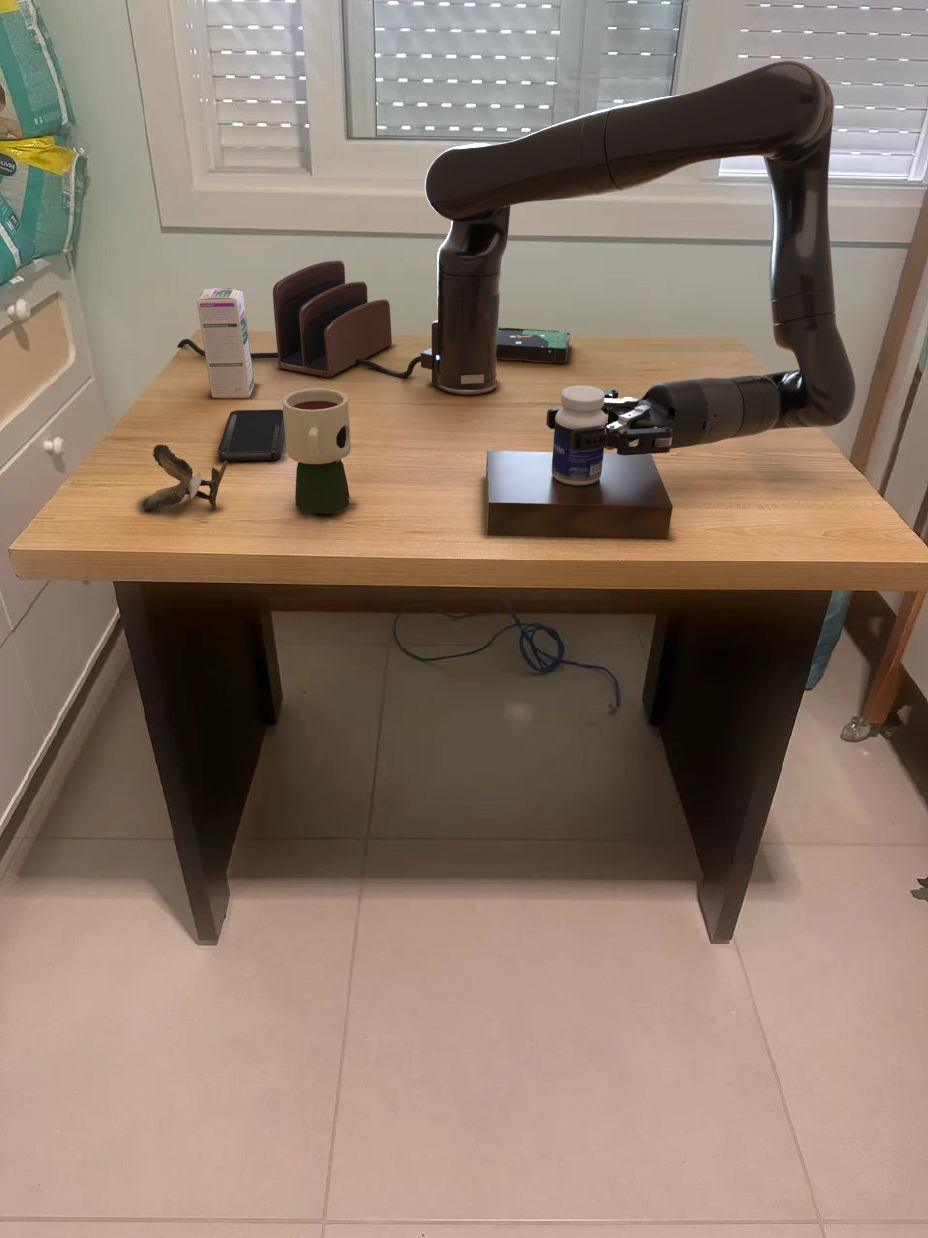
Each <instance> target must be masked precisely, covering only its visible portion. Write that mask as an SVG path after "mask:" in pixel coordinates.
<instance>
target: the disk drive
mask: <svg viewBox="0 0 928 1238" xmlns="http://www.w3.org/2000/svg"><path fill="white" fill-rule="evenodd" d="M570 336H571V333H570V332H569V331H559V330H550V329H549V330H545V329H532V328H518V327H516V328H515V327H501V326H498V350H497V360H507V361H530V362H537V363H551V364H552V363H560V364H562V363H567V360H568V353H569V347H570V340H571V339H570Z"/></svg>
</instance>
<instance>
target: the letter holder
mask: <svg viewBox="0 0 928 1238" xmlns="http://www.w3.org/2000/svg"><path fill="white" fill-rule="evenodd" d="M272 301H273V303H272V304H273V314H274V315H273V316H274V317H273V318H274V325H275V326H274V327H275V328H274V329H275V339H276V350H277V352H278V358H277V364H278V366H277V367H278V368H279V370H286V371H290V372H296V373H301V374H306V375H311V376H315V377H316V376H317V377H322V378H326V379H330V378H332V377H334V376H335V375H337V374H339V373H342V372H344V371H345V370H347V369H349V368H351V367H353V366H355V365H357V363H356V359H357V358H360V359H364V360H367V358H370V357H372V356H374V355H376V354H378V353H379V352H381V351H383V350H385V349H387V348H389V347H391V346H393V338H392V337H393V336H392V320H391V303H390V302H389V300H388V299H384V298H383V299H377V300H373V301H369V302H368V285H367V283H366V281H350V282H346V268H345V263H344V262H343V261H342V260H328V261H322V262H318V263H315V264H312V265H309V266H306V267H303V268H302V269H299V270H296V271H295V272H293V273H291V274H289V275H287V276H286V277H283V278H282V279H280V280H278V281H277V282H276V283H275V284H274V286H273V287H272ZM277 352H276V353H277Z"/></svg>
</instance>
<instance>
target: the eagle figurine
mask: <svg viewBox="0 0 928 1238" xmlns="http://www.w3.org/2000/svg"><path fill="white" fill-rule="evenodd" d="M152 452H153V453H152V457H153V458H154V460H155V462H157V464H158V466H159V467H161V468H162V469H163V470H164V472H165V473H166V474H167V475H169V476H170V477H172V478H174V479H176V480H178V481H179V483H177V484H176V485H173V486H169V487H165V488H160V489H158V490H156V491H155V492H154V493H153V494H152V495H150V497H148V498H145V500H143V501H142V502H141V506H142V508H143V509H144V510H152V509H154V508H158V507H159V506H161V507H162V506H166V505H167V506H170V507H171V506H175V505H177V504H180V502H182V501H183V499H185V497H186V496H189V497H190V500H191V501H192V500H193V499H194V498H195V497H197V498H200V499H202V500H208V502H209V504H210V506H211V508H213V510H217V503H216V502H217V495H218V492H219V488H220V484H221V482H222V480H223V478H224V477H223V476H224V474H225V472H226V469H227V463H228V462H227V461H225V462H224V461H223V463H222V466H221V467H220V469H219V470H218V469H217V468H215V467H211V479H210V480H205V479H202V474H201V472H200V471H198V472H197V473H196V474H195V475H194V476H193V473H194V471H193V468H192V467H191V465H189V463H188V462H187V461H185V459H183V458H179V457H177V456H176V454H175V453H173V452H172V450H171V449H170V448H169V446H168V445H166V444H156V445H155V446H154V447H153V450H152ZM206 486H208V488H209V494H207V493H205V492H204V491H201V490H199V488H200V487H206Z"/></svg>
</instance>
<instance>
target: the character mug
mask: <svg viewBox="0 0 928 1238" xmlns="http://www.w3.org/2000/svg"><path fill="white" fill-rule="evenodd" d="M281 406H282V407H281V408H282V410H283V417H284V427H285V436H284V439H285V446H286V447H285V448H286V451H287V455H288V458H290V459H292V460H293V461H295V462H297V464H296V471H295V472H296V475H295V489H294V490H295V496H294V497H295V498H294V499H295V500H294V501H295V502H294V503H295V506H296V508H297V509H299V510H300V511H304V512H308V513H315V514H316V513H317V514H330V515H332V514H333V515H334V514H337V513H339V512H343V511H345V510H346V509H347V508H348V507H350V500H351V496H350V490H349V485H348V479H347V474H346V471H345V470H346V469H345V465H344V462H343V461H342V459H344V458H346V457H347V456H349V455H350V453H351V447H352V446H351V444H352V443H351V426H350V414H349V413H350V411H349V410H350V408H349V407H350V406H349V397H348V395H347V394H345V393H343V392H341V391H338V390H335V389H330V388H318V387H315V388H303V389H300V390H295V391H292V392H290V393H288V394H285V395H284V397H283V398H282V399H281Z"/></svg>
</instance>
